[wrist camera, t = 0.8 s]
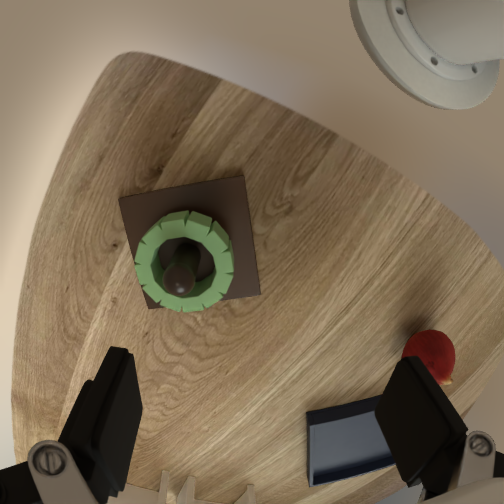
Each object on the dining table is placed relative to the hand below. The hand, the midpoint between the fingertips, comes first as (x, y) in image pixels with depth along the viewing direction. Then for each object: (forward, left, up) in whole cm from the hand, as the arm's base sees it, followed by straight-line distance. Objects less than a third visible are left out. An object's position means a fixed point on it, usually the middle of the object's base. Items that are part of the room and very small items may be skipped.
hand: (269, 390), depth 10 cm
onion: (-16, +14, -16) cm, 27 cm away
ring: (+5, 0, -14) cm, 15 cm away
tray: (-12, +32, -16) cm, 38 cm away
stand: (+5, 0, -16) cm, 17 cm away
